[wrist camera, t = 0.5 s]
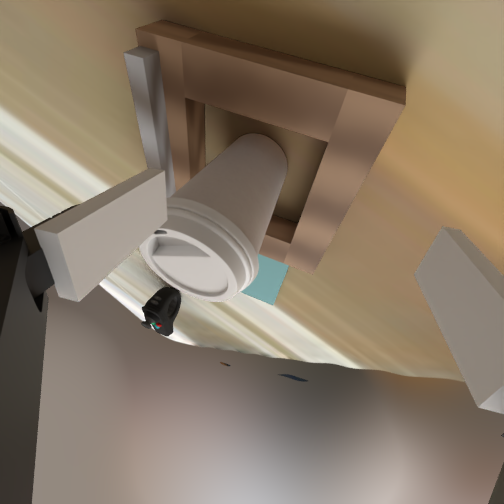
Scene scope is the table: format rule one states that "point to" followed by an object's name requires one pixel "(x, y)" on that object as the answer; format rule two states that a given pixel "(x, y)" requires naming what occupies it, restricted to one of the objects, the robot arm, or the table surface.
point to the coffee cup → (219, 221)
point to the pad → (267, 280)
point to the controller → (162, 310)
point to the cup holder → (263, 109)
